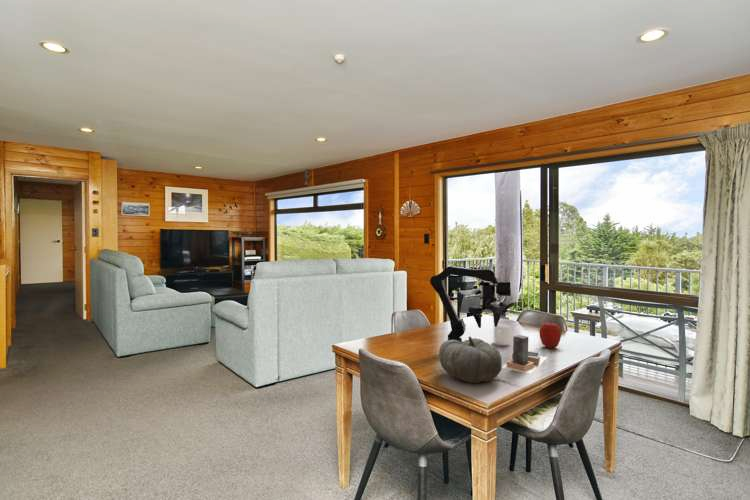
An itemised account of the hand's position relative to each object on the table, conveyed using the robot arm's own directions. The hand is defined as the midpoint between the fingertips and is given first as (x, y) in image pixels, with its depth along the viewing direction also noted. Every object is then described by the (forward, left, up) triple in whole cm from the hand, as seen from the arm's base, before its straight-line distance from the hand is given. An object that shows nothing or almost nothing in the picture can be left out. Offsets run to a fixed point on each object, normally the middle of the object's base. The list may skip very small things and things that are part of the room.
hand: (487, 327), depth 189 cm
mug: (+16, +10, -13) cm, 23 cm away
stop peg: (0, -23, -12) cm, 26 cm away
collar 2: (+13, -15, -12) cm, 23 cm away
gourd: (-26, -24, -13) cm, 38 cm away
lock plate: (+6, -19, -13) cm, 24 cm away
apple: (+38, -1, -13) cm, 40 cm away
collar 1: (0, -23, -12) cm, 26 cm away
